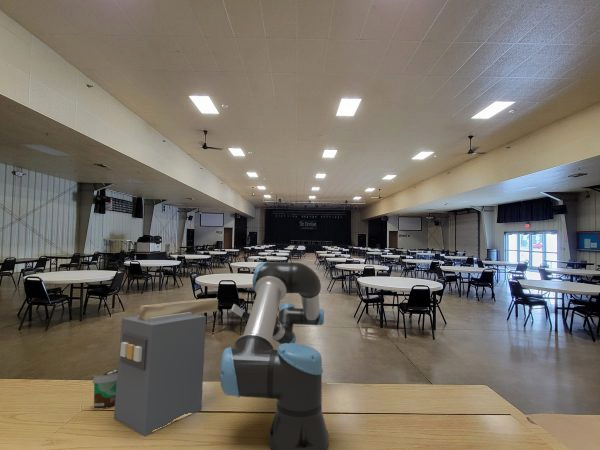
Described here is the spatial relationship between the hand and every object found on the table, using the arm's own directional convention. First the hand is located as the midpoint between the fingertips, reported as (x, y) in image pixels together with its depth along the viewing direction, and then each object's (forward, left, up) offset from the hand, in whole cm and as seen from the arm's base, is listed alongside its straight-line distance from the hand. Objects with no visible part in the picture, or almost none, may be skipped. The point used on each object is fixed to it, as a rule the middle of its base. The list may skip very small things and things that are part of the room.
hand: (245, 308), depth 125 cm
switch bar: (0, +29, +1) cm, 29 cm away
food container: (+18, +39, -27) cm, 51 cm away
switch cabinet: (0, +35, -27) cm, 44 cm away
